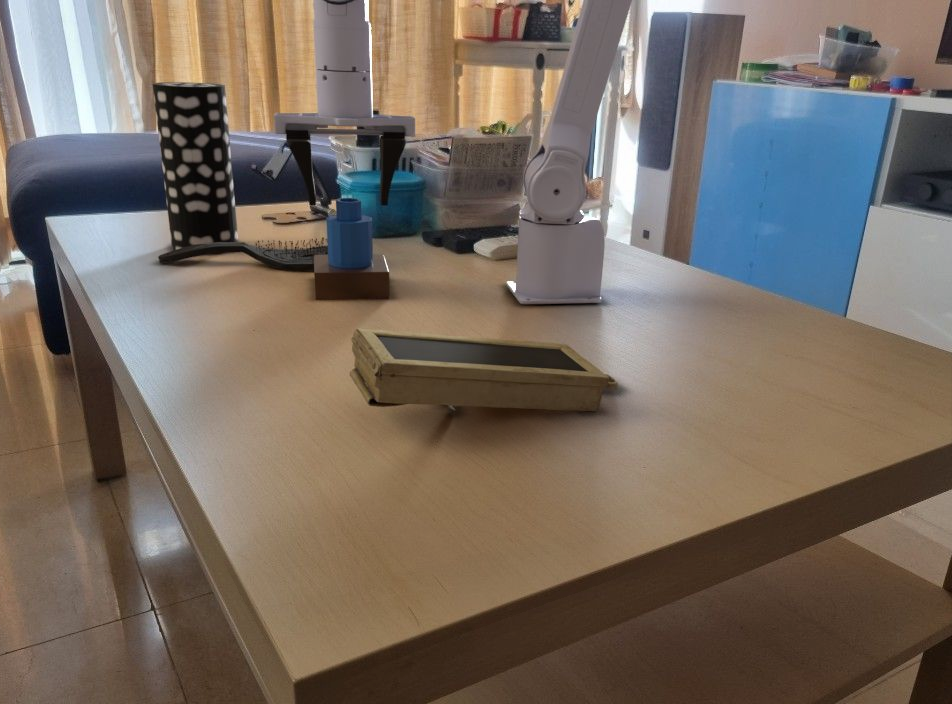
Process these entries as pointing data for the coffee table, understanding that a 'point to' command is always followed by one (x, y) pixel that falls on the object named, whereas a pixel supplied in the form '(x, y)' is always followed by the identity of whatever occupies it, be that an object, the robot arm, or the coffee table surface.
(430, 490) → the coffee table surface
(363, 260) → the bottle
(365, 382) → the box
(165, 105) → the white-spotted black cylinder
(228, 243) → the hairbrush
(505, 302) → the coffee table surface
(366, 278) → the block
